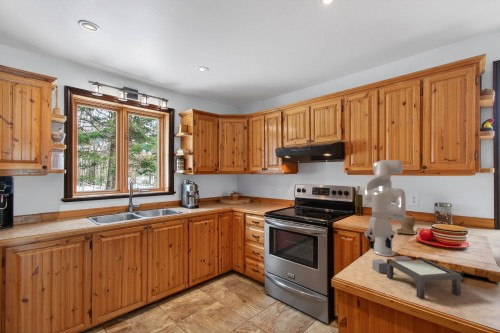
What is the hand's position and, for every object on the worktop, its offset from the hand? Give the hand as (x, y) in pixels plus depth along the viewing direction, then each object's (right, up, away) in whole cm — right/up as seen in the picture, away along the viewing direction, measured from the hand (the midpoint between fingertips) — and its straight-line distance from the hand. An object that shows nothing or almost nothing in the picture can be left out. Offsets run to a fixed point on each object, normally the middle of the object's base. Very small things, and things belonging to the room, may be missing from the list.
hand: (379, 247), depth 124 cm
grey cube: (0, -12, +1) cm, 12 cm away
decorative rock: (+33, -13, -2) cm, 36 cm away
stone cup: (+60, -13, +70) cm, 93 cm away
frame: (+11, -12, -15) cm, 22 cm away
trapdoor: (+10, -5, -12) cm, 17 cm away
